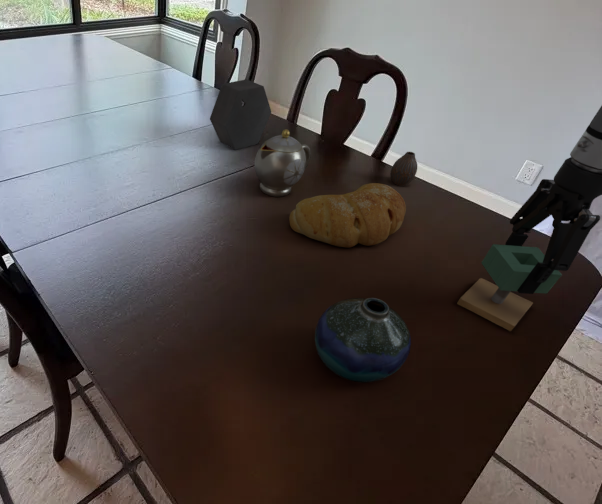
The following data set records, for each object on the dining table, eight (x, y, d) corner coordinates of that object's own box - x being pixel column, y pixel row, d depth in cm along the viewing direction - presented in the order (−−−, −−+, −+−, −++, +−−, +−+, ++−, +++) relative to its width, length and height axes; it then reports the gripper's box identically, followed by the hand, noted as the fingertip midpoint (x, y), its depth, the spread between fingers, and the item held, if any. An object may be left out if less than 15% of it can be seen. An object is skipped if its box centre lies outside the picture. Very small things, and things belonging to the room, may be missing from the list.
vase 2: (383, 182, 131) (394, 152, 125) (393, 175, 135) (404, 146, 128) (405, 190, 128) (417, 160, 121) (414, 183, 131) (427, 153, 125)
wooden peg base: (477, 282, 97) (489, 264, 94) (529, 308, 92) (544, 289, 88) (456, 303, 92) (468, 284, 88) (510, 331, 87) (525, 312, 83)
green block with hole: (524, 265, 90) (537, 247, 87) (547, 293, 84) (562, 274, 80) (481, 262, 90) (492, 243, 87) (500, 290, 84) (513, 271, 80)
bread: (326, 262, 100) (338, 223, 93) (277, 220, 112) (285, 182, 105) (426, 234, 111) (445, 197, 104) (372, 198, 123) (385, 163, 116)
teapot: (268, 207, 116) (280, 144, 105) (239, 185, 124) (247, 124, 112) (319, 193, 123) (335, 133, 112) (288, 173, 131) (300, 115, 120)
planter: (259, 117, 150) (241, 63, 132) (275, 125, 146) (258, 69, 128) (225, 153, 150) (202, 104, 132) (240, 162, 146) (219, 112, 128)
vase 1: (373, 330, 85) (400, 274, 75) (410, 393, 74) (446, 338, 64) (297, 333, 83) (314, 277, 73) (323, 399, 72) (347, 342, 63)
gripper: (536, 136, 78) (472, 244, 94) (612, 194, 63) (520, 311, 79) (578, 139, 78) (506, 247, 94) (663, 198, 63) (561, 314, 79)
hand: (513, 276), depth 87 cm, fingers closed on green block with hole, 9 cm apart
